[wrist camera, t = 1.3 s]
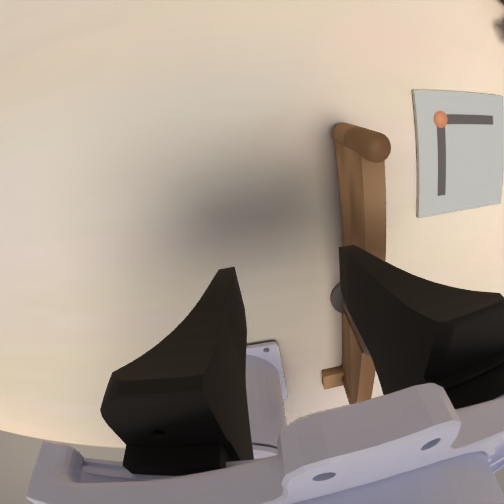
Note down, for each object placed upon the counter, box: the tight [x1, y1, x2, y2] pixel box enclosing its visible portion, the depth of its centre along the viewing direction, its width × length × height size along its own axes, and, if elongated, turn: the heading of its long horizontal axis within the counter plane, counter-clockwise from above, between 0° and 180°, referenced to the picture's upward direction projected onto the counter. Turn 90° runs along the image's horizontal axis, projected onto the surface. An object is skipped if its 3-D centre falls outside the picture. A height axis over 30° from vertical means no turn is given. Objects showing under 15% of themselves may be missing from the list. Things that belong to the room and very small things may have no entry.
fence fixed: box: [322, 283, 376, 404], centre depth 23 cm, size 5×12×6 cm, turn 10°
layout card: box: [412, 90, 504, 218], centre depth 18 cm, size 9×9×1 cm
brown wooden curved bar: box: [332, 123, 391, 356], centre depth 18 cm, size 14×2×5 cm, turn 10°
